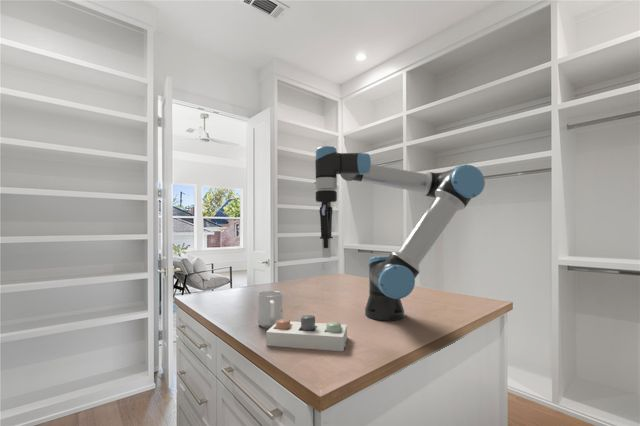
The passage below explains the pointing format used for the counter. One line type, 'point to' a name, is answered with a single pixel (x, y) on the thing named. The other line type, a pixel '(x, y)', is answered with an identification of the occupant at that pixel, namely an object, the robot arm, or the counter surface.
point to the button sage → (333, 327)
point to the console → (307, 337)
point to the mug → (270, 308)
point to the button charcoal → (308, 323)
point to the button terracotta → (283, 324)
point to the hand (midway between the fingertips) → (326, 257)
